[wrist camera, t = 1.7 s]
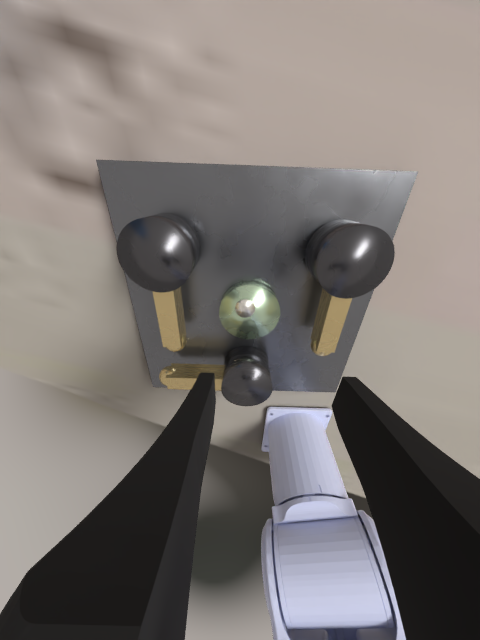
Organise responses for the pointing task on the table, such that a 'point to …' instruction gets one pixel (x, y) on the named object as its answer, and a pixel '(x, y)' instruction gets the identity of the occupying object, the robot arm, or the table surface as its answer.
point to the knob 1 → (161, 267)
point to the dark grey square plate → (252, 257)
